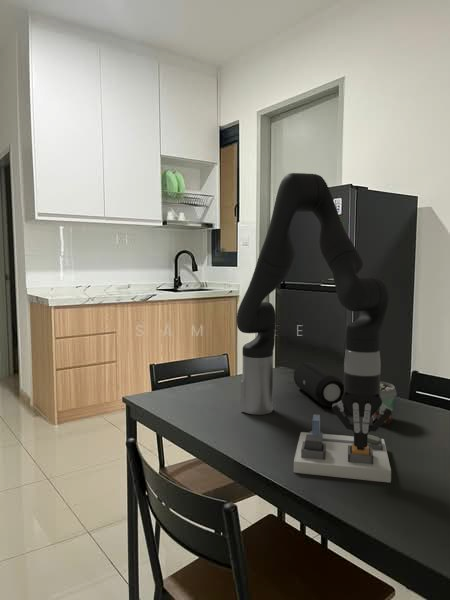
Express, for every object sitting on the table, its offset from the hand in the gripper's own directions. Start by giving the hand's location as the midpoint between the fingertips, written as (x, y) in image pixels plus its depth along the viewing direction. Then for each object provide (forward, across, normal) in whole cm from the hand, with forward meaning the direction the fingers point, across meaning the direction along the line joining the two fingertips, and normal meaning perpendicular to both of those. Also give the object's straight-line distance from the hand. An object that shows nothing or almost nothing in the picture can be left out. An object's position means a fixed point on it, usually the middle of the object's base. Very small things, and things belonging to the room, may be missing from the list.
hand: (360, 448), depth 103 cm
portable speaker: (+5, -12, +54) cm, 55 cm away
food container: (+5, +8, +35) cm, 36 cm away
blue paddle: (+2, -10, +9) cm, 14 cm away
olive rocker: (+1, +2, +8) cm, 9 cm away
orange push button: (+2, 0, 0) cm, 2 cm away
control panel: (+5, -4, +4) cm, 8 cm away
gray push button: (+1, -10, 0) cm, 10 cm away
